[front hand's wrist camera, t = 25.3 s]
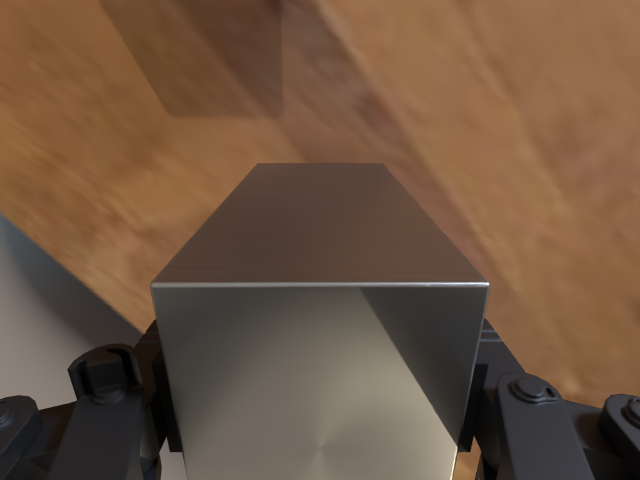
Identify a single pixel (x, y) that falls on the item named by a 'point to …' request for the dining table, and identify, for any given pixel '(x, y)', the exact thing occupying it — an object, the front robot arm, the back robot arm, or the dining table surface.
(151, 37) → the dining table surface
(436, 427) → the grey metallic rectangular block
